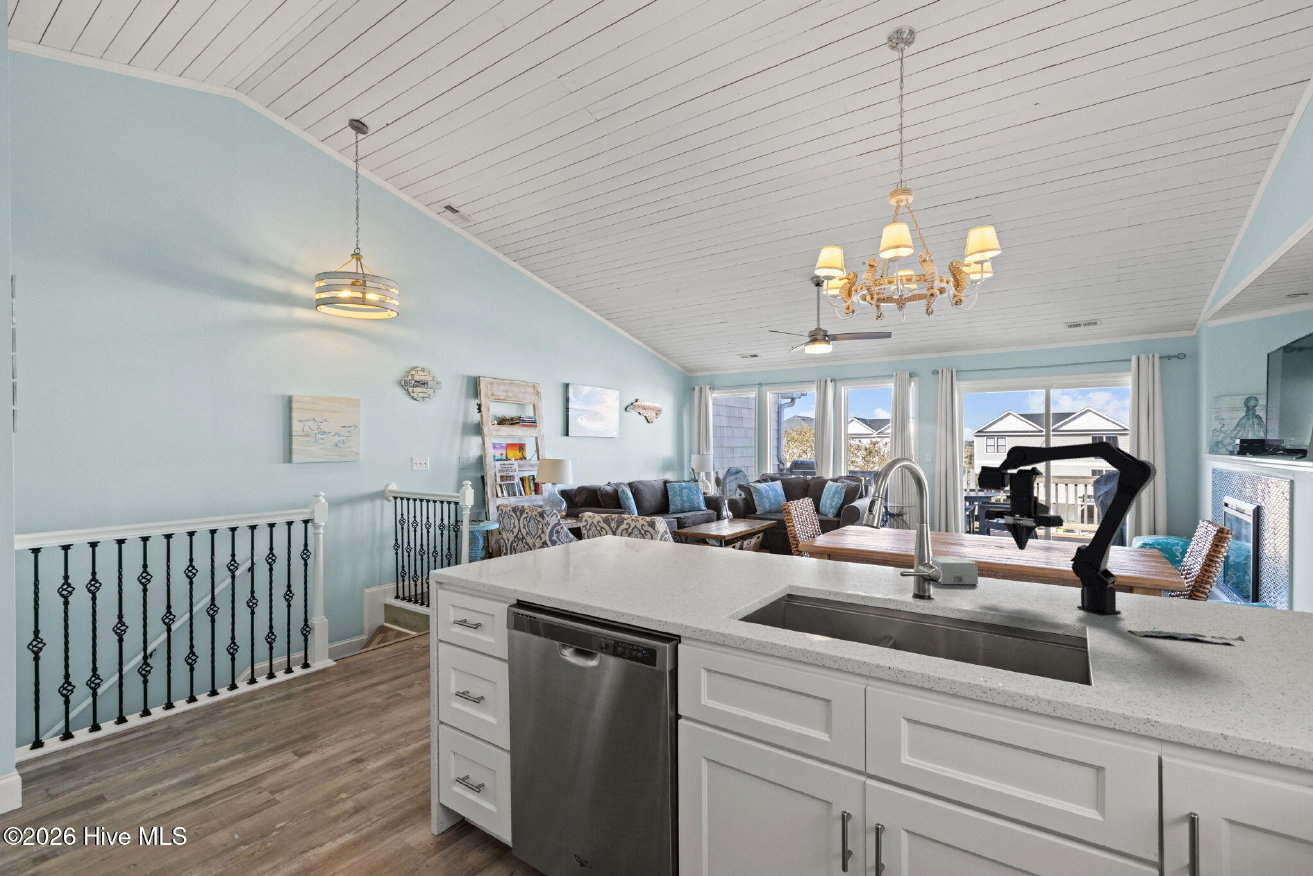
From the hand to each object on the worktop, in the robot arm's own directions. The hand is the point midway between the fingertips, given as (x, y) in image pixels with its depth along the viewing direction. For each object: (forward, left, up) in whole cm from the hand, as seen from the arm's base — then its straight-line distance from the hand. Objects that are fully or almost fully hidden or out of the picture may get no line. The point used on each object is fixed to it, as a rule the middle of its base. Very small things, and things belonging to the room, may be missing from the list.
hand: (1021, 549), depth 161 cm
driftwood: (-36, -7, -14) cm, 39 cm away
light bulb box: (+16, +6, -10) cm, 20 cm away
